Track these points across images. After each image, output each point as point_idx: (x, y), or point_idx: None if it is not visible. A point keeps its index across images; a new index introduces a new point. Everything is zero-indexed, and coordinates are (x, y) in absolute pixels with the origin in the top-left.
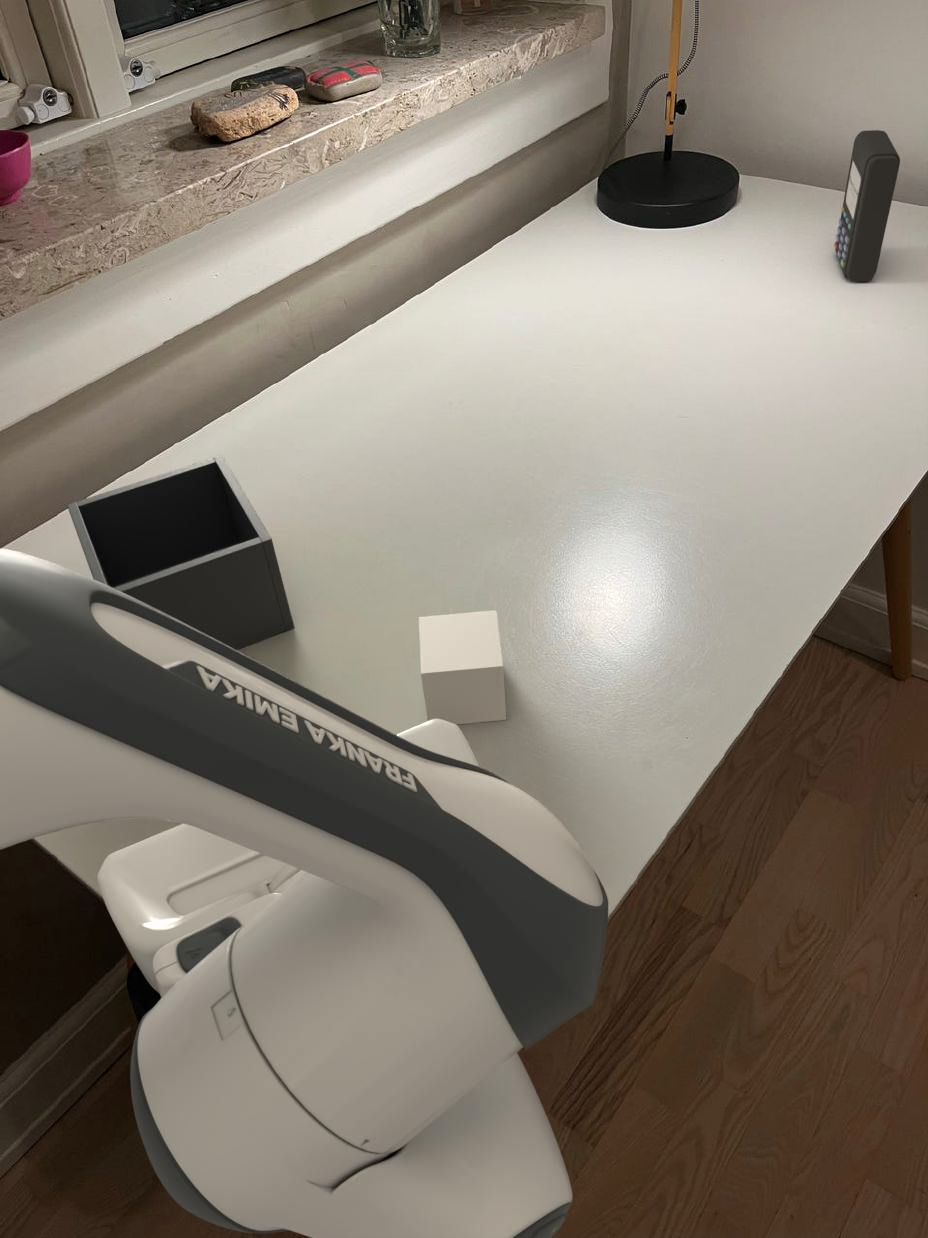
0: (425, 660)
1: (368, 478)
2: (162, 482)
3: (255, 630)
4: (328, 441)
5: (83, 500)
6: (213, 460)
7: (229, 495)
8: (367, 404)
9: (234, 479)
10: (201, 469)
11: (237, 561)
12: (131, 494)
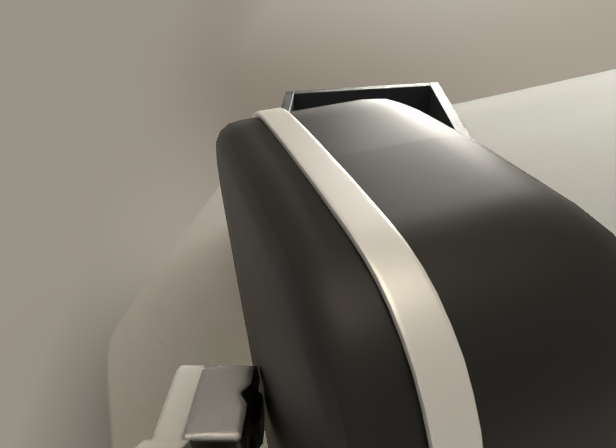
0: None
1: (564, 161)
2: (374, 92)
3: None
4: (526, 131)
5: (300, 91)
6: (428, 84)
7: (433, 117)
8: (568, 115)
9: (444, 97)
10: (414, 89)
11: None
12: (343, 96)
